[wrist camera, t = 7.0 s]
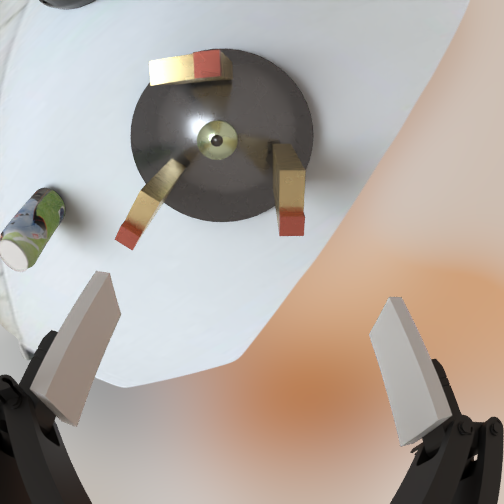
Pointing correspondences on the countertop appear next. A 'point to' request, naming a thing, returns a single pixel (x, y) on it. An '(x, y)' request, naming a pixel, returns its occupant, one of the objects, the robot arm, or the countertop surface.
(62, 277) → the countertop surface
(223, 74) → the knob
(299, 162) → the knob
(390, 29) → the countertop surface
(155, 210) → the knob
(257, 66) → the tribrach plate
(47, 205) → the beverage can
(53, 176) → the countertop surface
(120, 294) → the countertop surface
